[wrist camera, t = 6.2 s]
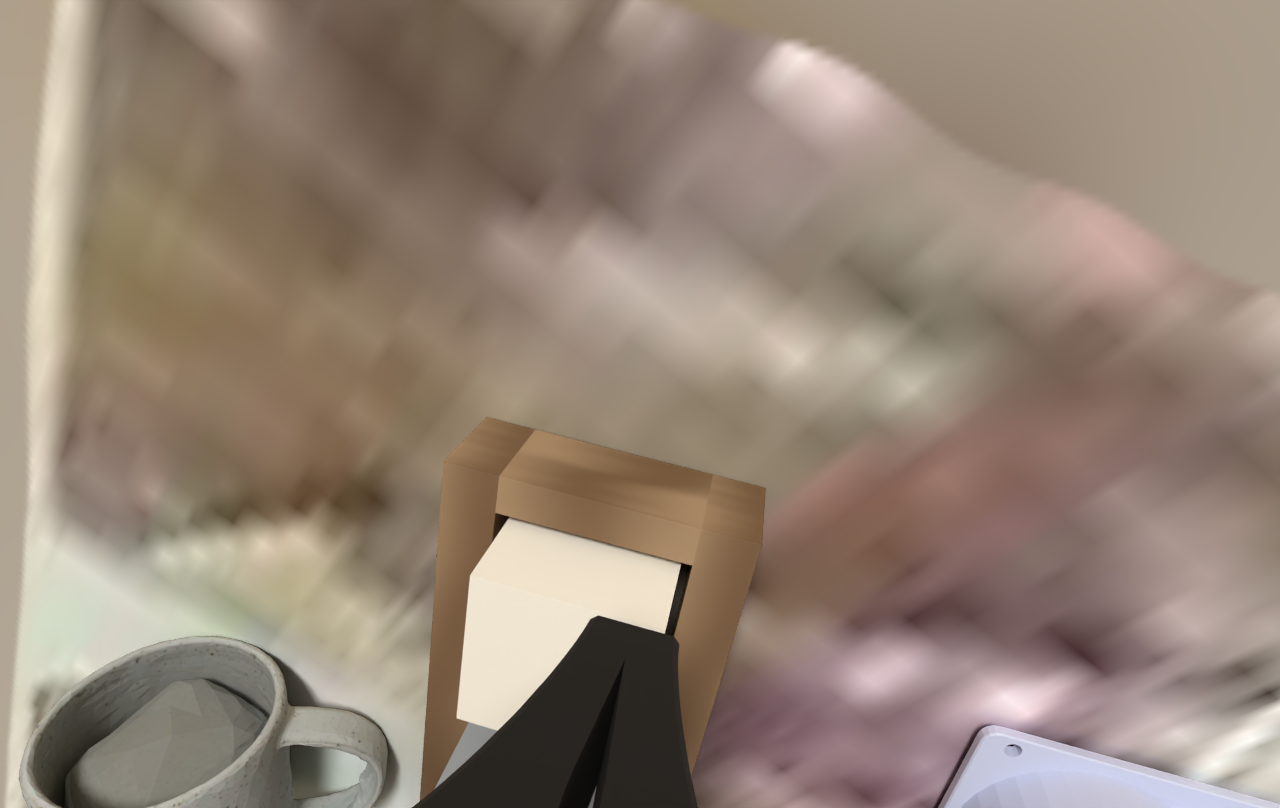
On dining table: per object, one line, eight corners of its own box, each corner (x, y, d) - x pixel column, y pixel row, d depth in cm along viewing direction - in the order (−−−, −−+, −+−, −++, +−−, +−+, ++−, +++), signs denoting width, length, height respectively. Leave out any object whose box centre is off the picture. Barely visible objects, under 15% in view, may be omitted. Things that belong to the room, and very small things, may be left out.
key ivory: (687, 538, 21) (665, 630, 17) (655, 664, 23) (630, 770, 19) (524, 494, 21) (469, 575, 18) (508, 622, 23) (456, 718, 20)
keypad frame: (765, 488, 21) (762, 544, 18) (617, 989, 32) (601, 1070, 30) (486, 417, 22) (443, 461, 19) (437, 929, 33) (406, 1002, 30)
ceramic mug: (180, 756, 32) (15, 940, 25) (151, 615, 29) (-49, 781, 22) (401, 813, 31) (293, 1022, 24) (398, 673, 27) (271, 868, 20)
